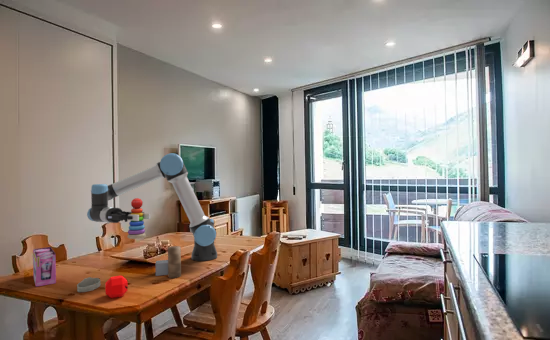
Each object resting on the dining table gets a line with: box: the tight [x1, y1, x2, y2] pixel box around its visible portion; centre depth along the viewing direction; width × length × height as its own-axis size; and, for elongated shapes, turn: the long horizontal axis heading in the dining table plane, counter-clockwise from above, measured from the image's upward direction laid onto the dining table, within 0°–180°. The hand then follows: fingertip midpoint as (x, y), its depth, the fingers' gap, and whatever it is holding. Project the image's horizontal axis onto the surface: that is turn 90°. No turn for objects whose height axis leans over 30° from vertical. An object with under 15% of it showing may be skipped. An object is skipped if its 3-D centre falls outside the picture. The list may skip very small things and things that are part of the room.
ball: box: [104, 274, 129, 299], centre depth 133 cm, size 8×8×8 cm
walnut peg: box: [167, 245, 182, 279], centre depth 158 cm, size 6×6×14 cm
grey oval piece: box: [76, 276, 101, 293], centre depth 142 cm, size 9×6×5 cm
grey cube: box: [155, 259, 168, 277], centre depth 163 cm, size 6×6×6 cm
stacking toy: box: [127, 197, 147, 240], centre depth 154 cm, size 8×8×19 cm
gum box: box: [32, 246, 57, 287], centre depth 157 cm, size 24×8×14 cm, turn 39°
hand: (144, 217), depth 152 cm, fingers closed on stacking toy, 6 cm apart
